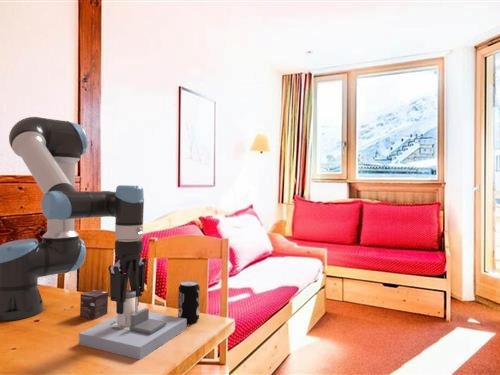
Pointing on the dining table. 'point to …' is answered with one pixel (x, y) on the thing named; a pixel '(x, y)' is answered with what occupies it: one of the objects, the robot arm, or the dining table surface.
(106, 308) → the box
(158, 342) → the socket board
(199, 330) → the dining table surface
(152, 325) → the grey l-shaped block
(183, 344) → the dining table surface
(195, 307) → the beverage can
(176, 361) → the dining table surface
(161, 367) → the dining table surface
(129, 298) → the plug
